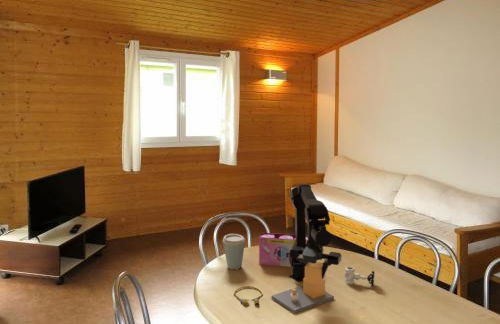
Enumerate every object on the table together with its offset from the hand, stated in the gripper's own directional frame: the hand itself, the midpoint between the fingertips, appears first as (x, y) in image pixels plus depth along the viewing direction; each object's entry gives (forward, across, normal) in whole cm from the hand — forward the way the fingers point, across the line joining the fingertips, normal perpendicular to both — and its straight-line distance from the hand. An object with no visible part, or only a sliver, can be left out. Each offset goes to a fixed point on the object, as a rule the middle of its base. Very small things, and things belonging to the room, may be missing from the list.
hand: (314, 276), depth 150 cm
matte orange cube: (+1, 0, 0) cm, 1 cm away
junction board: (+11, -5, +2) cm, 12 cm away
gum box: (+11, -25, +33) cm, 43 cm away
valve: (+11, +12, +25) cm, 30 cm away
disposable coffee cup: (+11, -44, +18) cm, 49 cm away
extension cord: (+12, -26, -5) cm, 29 cm away
